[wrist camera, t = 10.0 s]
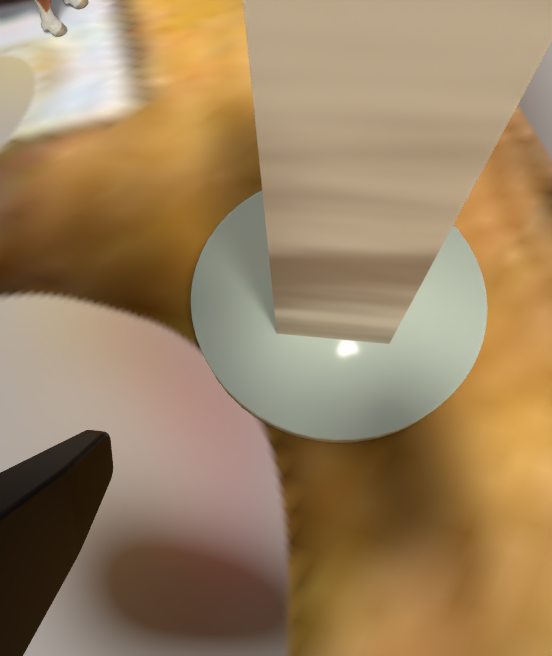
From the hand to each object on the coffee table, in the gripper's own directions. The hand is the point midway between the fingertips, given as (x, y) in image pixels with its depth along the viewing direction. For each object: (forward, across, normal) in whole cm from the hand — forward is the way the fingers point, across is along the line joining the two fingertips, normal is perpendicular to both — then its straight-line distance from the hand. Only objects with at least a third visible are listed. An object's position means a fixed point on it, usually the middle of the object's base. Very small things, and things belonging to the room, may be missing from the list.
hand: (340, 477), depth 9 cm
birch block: (+11, 0, 0) cm, 11 cm away
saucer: (+12, 0, +1) cm, 12 cm away
